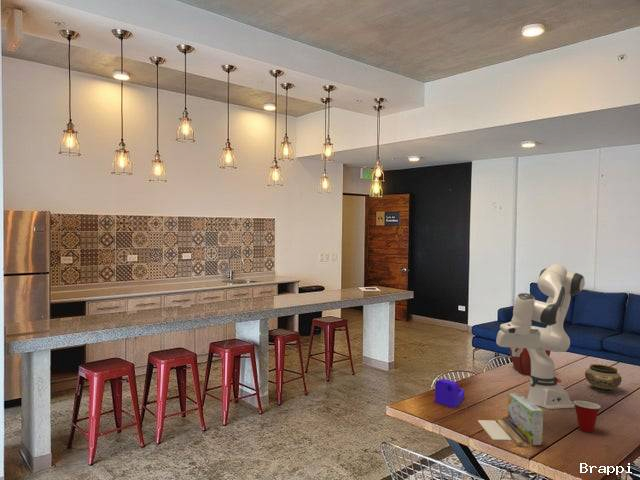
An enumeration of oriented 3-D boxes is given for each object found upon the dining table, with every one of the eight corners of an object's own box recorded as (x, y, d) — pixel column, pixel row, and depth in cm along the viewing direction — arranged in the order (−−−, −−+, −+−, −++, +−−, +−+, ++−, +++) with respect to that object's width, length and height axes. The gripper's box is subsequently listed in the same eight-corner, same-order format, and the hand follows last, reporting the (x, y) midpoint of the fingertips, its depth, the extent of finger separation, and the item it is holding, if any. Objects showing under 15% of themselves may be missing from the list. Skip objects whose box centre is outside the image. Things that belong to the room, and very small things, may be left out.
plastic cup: (600, 428, 218) (601, 402, 218) (598, 436, 209) (599, 409, 209) (573, 422, 224) (574, 397, 224) (571, 430, 215) (571, 404, 215)
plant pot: (550, 377, 293) (551, 350, 293) (519, 376, 293) (520, 349, 293) (536, 368, 312) (537, 342, 312) (507, 367, 312) (508, 341, 312)
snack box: (506, 425, 220) (507, 392, 220) (518, 424, 221) (519, 392, 220) (530, 446, 199) (531, 410, 199) (543, 445, 200) (544, 410, 199)
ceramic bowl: (614, 403, 258) (623, 378, 256) (578, 388, 268) (587, 364, 265) (616, 391, 278) (625, 367, 276) (583, 377, 288) (591, 354, 286)
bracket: (453, 408, 240) (454, 384, 239) (434, 402, 248) (435, 379, 247) (471, 399, 252) (472, 377, 252) (453, 394, 260) (453, 372, 260)
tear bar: (505, 423, 221) (505, 417, 221) (526, 446, 198) (526, 439, 198) (497, 423, 221) (497, 417, 221) (517, 446, 198) (518, 439, 198)
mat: (494, 421, 224) (494, 420, 224) (511, 440, 204) (511, 439, 204) (477, 421, 224) (477, 420, 224) (492, 440, 204) (492, 439, 204)
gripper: (537, 327, 228) (532, 354, 230) (496, 324, 226) (492, 352, 228) (544, 331, 222) (539, 360, 224) (503, 329, 220) (498, 357, 222)
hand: (515, 356), depth 226 cm, fingers closed
